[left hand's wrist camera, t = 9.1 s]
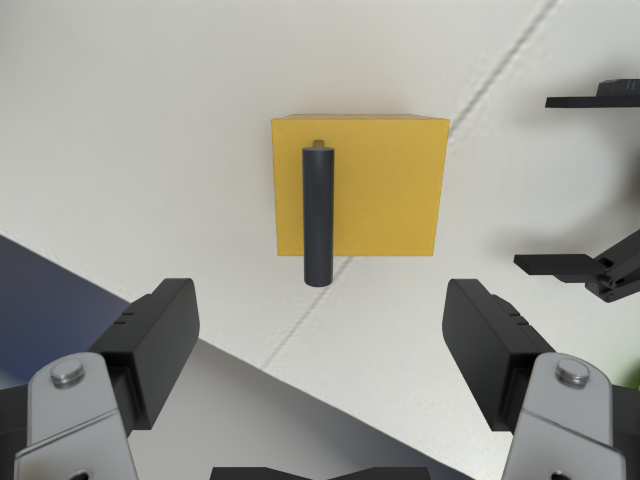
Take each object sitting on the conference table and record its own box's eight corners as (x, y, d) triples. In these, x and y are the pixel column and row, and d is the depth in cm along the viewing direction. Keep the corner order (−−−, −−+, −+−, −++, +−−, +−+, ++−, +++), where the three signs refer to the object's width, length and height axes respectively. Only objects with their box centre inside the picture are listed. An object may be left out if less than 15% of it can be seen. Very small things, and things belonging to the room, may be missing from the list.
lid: (279, 250, 28) (264, 305, 21) (273, 118, 25) (252, 125, 17) (428, 250, 28) (468, 305, 21) (444, 118, 25) (500, 125, 17)
